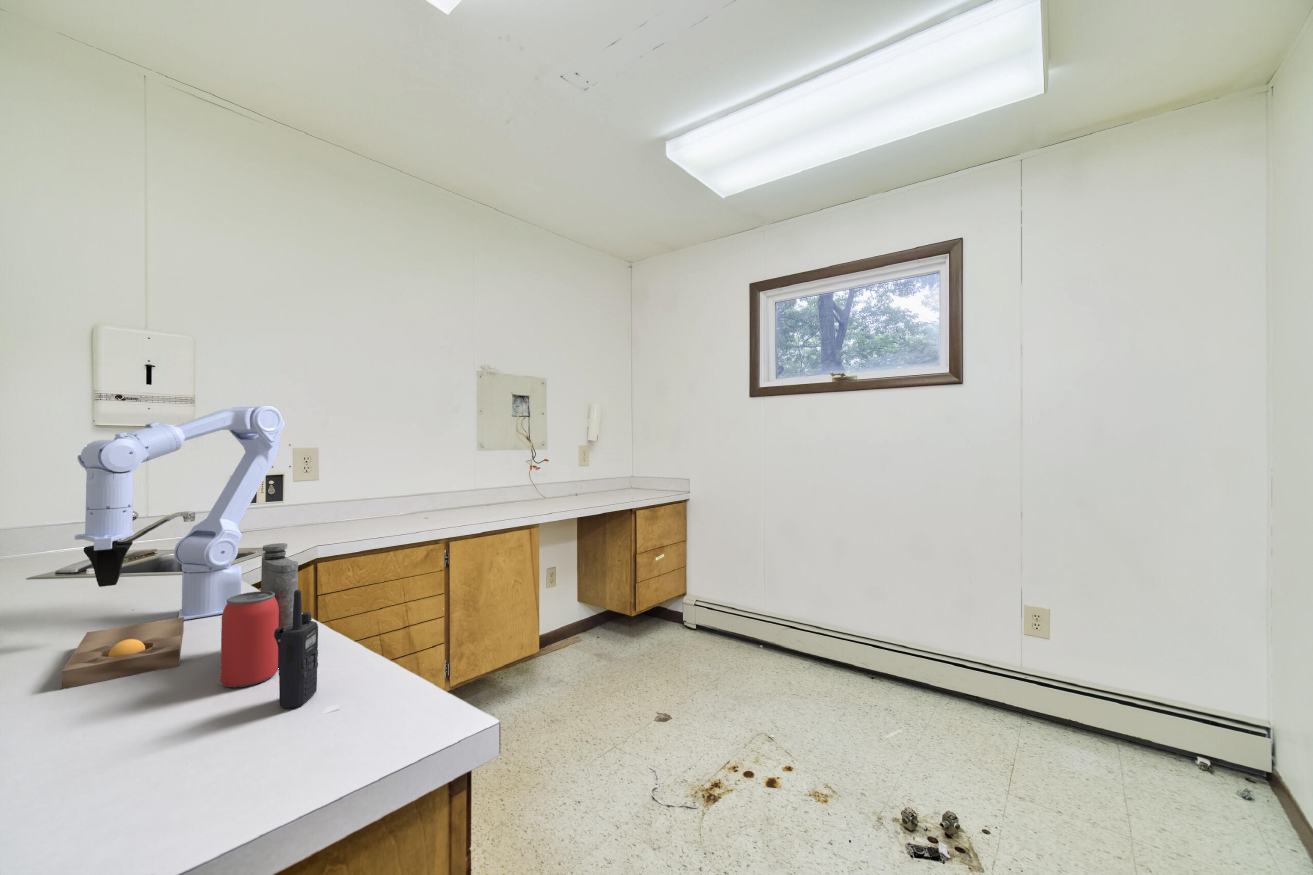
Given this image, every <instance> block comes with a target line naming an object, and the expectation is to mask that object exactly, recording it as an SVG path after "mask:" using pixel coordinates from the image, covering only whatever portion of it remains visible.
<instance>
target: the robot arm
mask: <svg viewBox="0 0 1313 875" xmlns="http://www.w3.org/2000/svg"><path fill="white" fill-rule="evenodd" d="M144 426H145V427H144V428H141V429H138V430H134V431H130V432H128V433H126V432H119V433H115V434H114V436H115V437H114V438H113V439H98V440H93V441H91V442H89V443H88V444H86V446H84V447H83V449H82V450H81V452H80V454H78V455H77V461H78V464H79V465H80V467H82V468H83V469H84V471H86V482H85V521H84V522H85V524H84V529H85V530H84V533H79V534H78V533H77V534H75V535H74V540H84V541H88V542H90V543H91V542H92V543H93V545H88V546H85V547H83V552H84V554H85V555H86V557H87V558H88V559H89V561H90V563H91V565H92V568H93V571H94V575H95V579H96V582H97V585H98V587H99V588H100V587H101V588H103V587H111V586H117V584H118V581H119V579H120V577H121V576H120V575H121V572H122V567H123V564H124V560H125V557H126V555H127V553H128V551H129V550H130V548H131V546H132V545H133V543H134V542H133V541H131V540H126V541H120V540H122V539H126V538H130V537H132V536H134V535H135V531H134V530H133V520H134V519H133V516H134V515H133V514H134V513H133V512H134V508H133V507H134V506H133V505H134V471H135V470H136V469H137V468H138V467H139V466H141V464H143V463H146V462H148V461H151V460H155V459H157V458H160V457H163V456H165V455H169V454H171V453H174V452H177V451H180V449H181V448H182V447H183V444H184V442H186V441H189V440H192V439H196V438H199V437H203V436H205V435H209V434H212V433H216V432H219V431H229V433H231V434H232V436H233V437H234V438H235V439H236V440H237V441H238V443H240V445H241V446H242V447H243V449H244V451H245V452H244V454H243V456H242V457H241V460H240V461H239V462H238V464H237V466H236V467H235V469H234V471H233V473H232V474H231V476H230V478H229V480H227V483H226V484H225V486H224V488H223V490H222V491H221V493H220V495H219V496H218V498H217V500H216V501H215V503H214V505H213V507H212V508H211V510H210V512H209V513H208V514H207V516H206V518H205V519H203V520H202V521H200V522H198V523H197V524H195V525H194V526H193V527H192V528H191V530H190V531H189V533H188V534H186V535H185V536H184V537H182V538H181V539H180V540H178V542H177V543H176V545H175V547H174V550H173V556H174V559H175V560H176V561H177V562H178V564H180V565H181V570H182V575H181V576H182V577H181V580H182V581H181V608H180V609H179V611H178V617H177V618H180V617H184V621H186V620H191V619H198V618H199V619H200V618H206V617H213V616H216V615H217V616H218V615H222V614H223V610H224V608H225V606H226V604H227V599H228V598H230V597H233V596H235V595H239V594H244V592H243V591H242V565H240V564H239V565H238V564H237V565H232V563H233V562H234V561H235V560H236V558H237V556H238V554H239V545H240V542H241V539H242V538H243V534H242V532H241V531H240V529H239V527H238V526H239V524H240V523H241V521H242V519H243V517H244V515H245V513H246V512H247V510H248V508H249V506H250V505H251V503H252V501H253V499H254V498H255V495H256V494H257V492H258V490H259V489H260V487H261V485H262V483H263V482H264V480H265V478H266V476H267V475H268V473H269V472H270V469H271V467H272V466H273V463H274V461H275V460H276V458H277V457H278V454H279V451H280V450H279V449H280V441H281V440H280V439H281V434H282V432H283V430H284V428H285V427H286V423H285V421H284V419H283V417H282V414H281V412H280V411H279V410H278V409H277V408H276V407H274V406H271V405H260V406H242V405H241V406H239V405H238V406H234V407H231V408H224V409H223V408H222V409H220V410H217V411H213V412H212V413H208V414H205V415H202V416H199V417H196V418H194V419H191V420H188V421H186V422H181V423H179V424H176V425H171V424H169V423H165V422H161V423H158V422H156V421H155V422H153V421H152V422H149V423H146V424H145V425H144Z"/></svg>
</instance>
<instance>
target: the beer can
mask: <svg viewBox="0 0 1313 875" xmlns="http://www.w3.org/2000/svg"><path fill="white" fill-rule="evenodd" d="M274 596H275V593H274V592H270V591H261V590H260V591H252V592H246V593H244V592H243V594H239V595H235V596H233V597H230V598H228V599H227V604H226V606H225V608H224V610H223V614H221V628H220V629H221V631H220V632H221V633H220V634H221V636H220V637H221V639H220V642H221V644H220V683H221V685H222V686H224V687H226V688H233V689H234V688H236V689H237V688H246V686H247V687H251V686H254V685H258V684H261V683H264V682H266V681H268V680H270V679H271V678H273V677H274V676H275V675H276V674H277V672H279V669H278V645H277V642H276V639H275V638H274V632H275V629H277V628H278V627H279V607H278V603H277V601H276V599H275V597H274Z"/></svg>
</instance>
